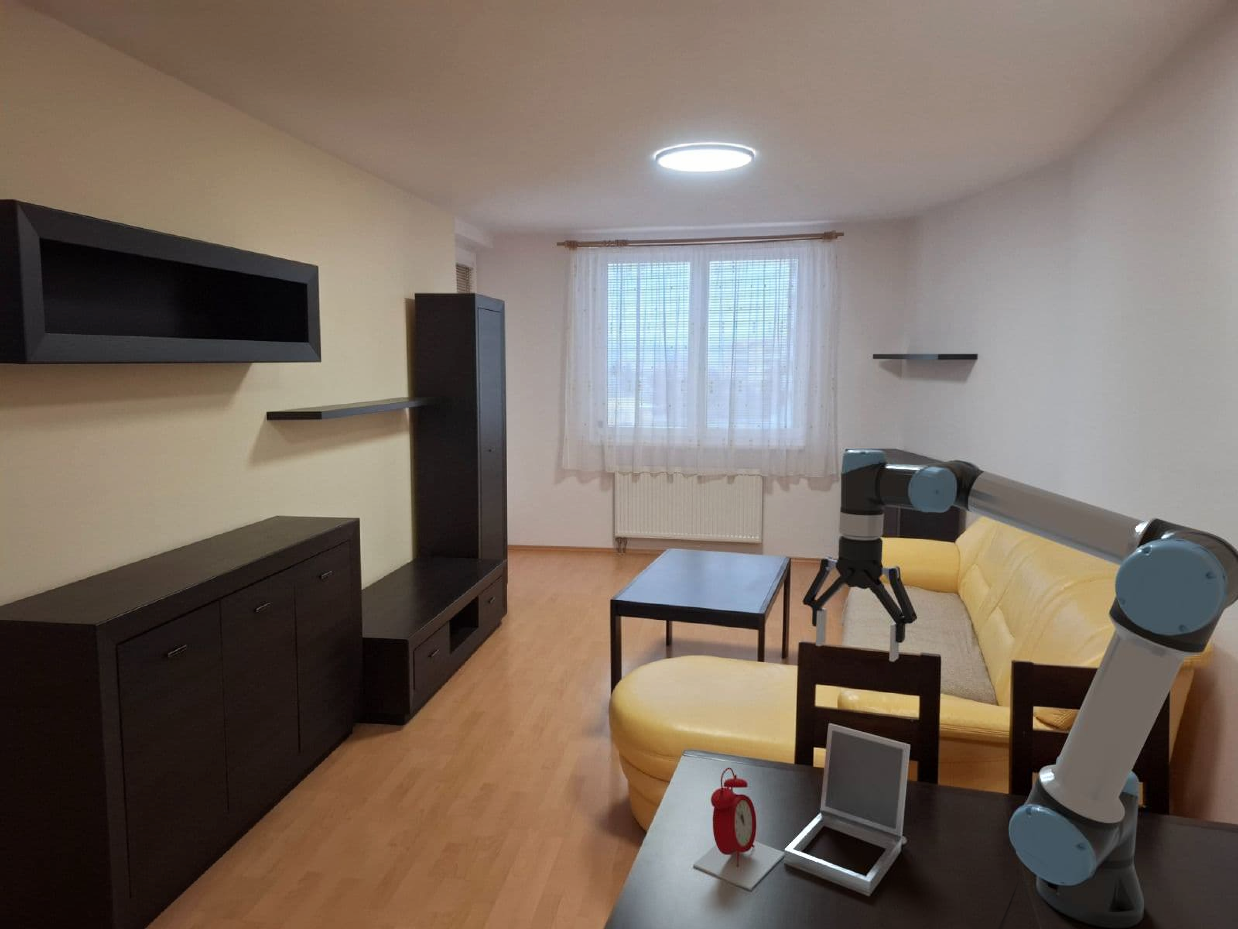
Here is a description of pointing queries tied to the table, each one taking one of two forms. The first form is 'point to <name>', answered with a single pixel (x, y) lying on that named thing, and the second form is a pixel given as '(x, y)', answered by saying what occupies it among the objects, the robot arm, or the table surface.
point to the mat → (740, 864)
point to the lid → (865, 778)
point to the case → (836, 873)
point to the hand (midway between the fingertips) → (856, 651)
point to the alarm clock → (733, 818)
